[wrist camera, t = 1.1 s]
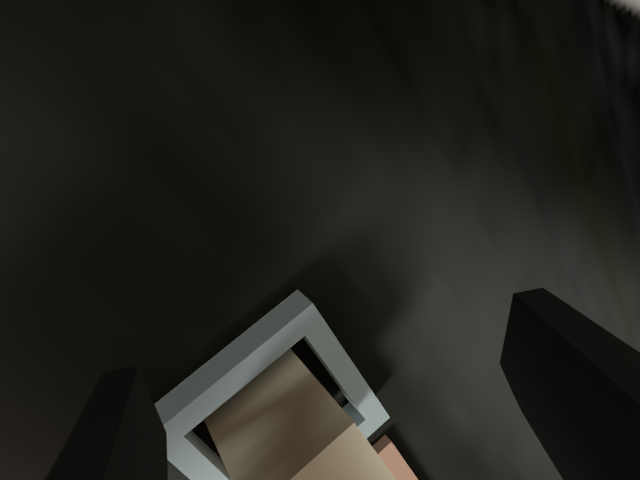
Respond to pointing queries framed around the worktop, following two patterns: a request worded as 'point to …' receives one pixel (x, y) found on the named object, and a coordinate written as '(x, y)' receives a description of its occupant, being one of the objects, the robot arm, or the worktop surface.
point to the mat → (393, 459)
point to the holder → (245, 364)
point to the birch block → (291, 430)
